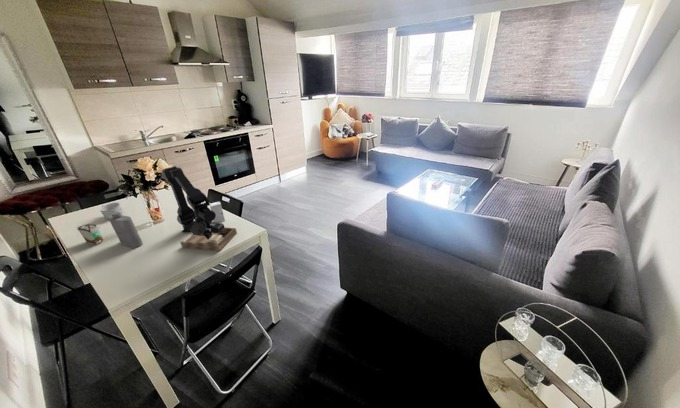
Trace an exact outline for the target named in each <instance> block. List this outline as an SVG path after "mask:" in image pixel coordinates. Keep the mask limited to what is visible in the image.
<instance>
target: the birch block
mask: <svg viewBox="0 0 680 408" xmlns="http://www.w3.org/2000/svg"><path fill="white" fill-rule="evenodd" d="M222 239H223V237H222V235H213V236H212V237H211V238H209V239H208V241H209V244H217V245H218V243H219V242H220V241H221V240H222Z"/></svg>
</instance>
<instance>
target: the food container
mask: <svg viewBox="0 0 680 408" xmlns="http://www.w3.org/2000/svg"><path fill="white" fill-rule="evenodd" d="M76 228H77V231H78V232H79V233H80V235H82V237H83V239H84V240H85V242H86V243H87V244H91V245H96V246H98V245H100V244H102V242H103V241H104V239H103V236H102V234H101V233H100V230H99V229H100V227H99V225H98V224H96V223H86V224H82V225H79V226H77V227H76Z"/></svg>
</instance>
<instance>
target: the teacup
mask: <svg viewBox="0 0 680 408" xmlns="http://www.w3.org/2000/svg"><path fill="white" fill-rule="evenodd" d="M99 212H100V213H101V215H102V216H103V217H104V218H105V219H108V216H109V215H111V214H113V213H115V212H120V214H121V215H122V214H123V212H124V210H123V208H122V206H121V203H120V202H117V201H116V202H111V203H107V204H102V205H101V207H100V208H99Z"/></svg>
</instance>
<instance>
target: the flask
mask: <svg viewBox="0 0 680 408" xmlns="http://www.w3.org/2000/svg"><path fill="white" fill-rule="evenodd" d="M107 219H108V221H109V222H110V224H111V226H112V229H113V231H114V233H116V234H115V235H116V236H117V238H118V240H119V243H120V244H121V245H122V246H124V247H126V248H131V249H136V248H140V247H141V246H143V245H144V243H143V240H142V238H141V237H140V234H139V232H138V229H137V228H136V226H135V223H134V222H133V220H132V217H131V216H130V215H129V216H128V215H122V214H120V212H115V213H113V214H111V215H109V216H108V218H107Z"/></svg>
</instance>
